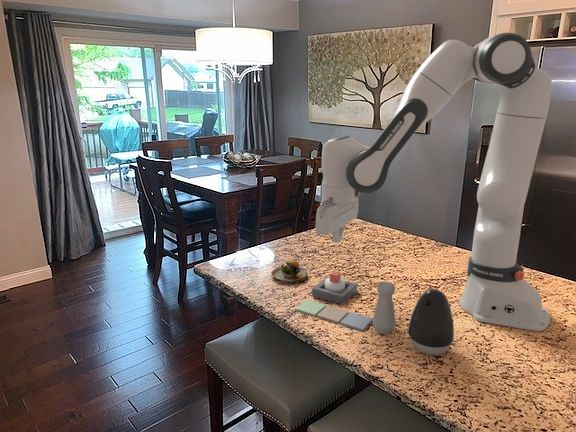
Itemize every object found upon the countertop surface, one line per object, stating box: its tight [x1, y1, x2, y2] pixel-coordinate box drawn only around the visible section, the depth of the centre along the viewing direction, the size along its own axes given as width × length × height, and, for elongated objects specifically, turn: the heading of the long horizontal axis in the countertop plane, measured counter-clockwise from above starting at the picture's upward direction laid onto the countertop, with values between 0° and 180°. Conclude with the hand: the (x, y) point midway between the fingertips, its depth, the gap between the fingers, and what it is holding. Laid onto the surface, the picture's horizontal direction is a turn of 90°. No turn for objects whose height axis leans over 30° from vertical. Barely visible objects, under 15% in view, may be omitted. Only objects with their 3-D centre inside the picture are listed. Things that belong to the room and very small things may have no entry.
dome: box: [324, 270, 346, 293], centre depth 130 cm, size 6×6×6 cm
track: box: [294, 298, 373, 332], centre depth 118 cm, size 20×6×1 cm, turn 57°
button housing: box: [311, 276, 358, 305], centre depth 131 cm, size 10×10×2 cm
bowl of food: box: [271, 255, 309, 284], centre depth 142 cm, size 12×12×8 cm
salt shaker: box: [371, 281, 397, 336], centre depth 109 cm, size 6×6×13 cm
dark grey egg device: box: [407, 288, 455, 356], centre depth 101 cm, size 10×10×15 cm
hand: (337, 241), depth 126 cm, fingers closed
